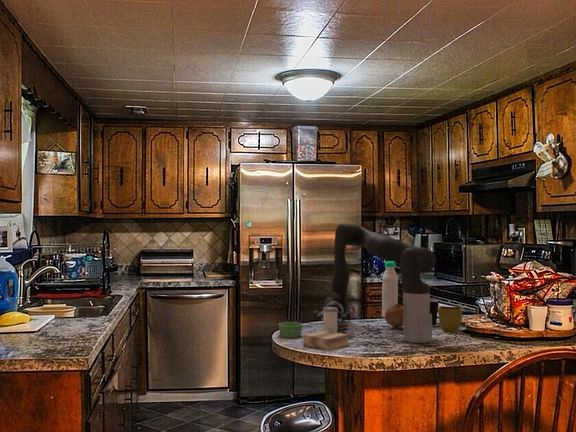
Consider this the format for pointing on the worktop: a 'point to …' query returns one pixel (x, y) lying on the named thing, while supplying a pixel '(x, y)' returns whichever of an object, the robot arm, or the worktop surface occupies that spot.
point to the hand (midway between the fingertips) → (331, 318)
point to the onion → (395, 315)
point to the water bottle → (389, 287)
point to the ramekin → (290, 329)
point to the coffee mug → (434, 310)
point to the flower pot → (450, 318)
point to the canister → (330, 319)
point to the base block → (325, 340)
